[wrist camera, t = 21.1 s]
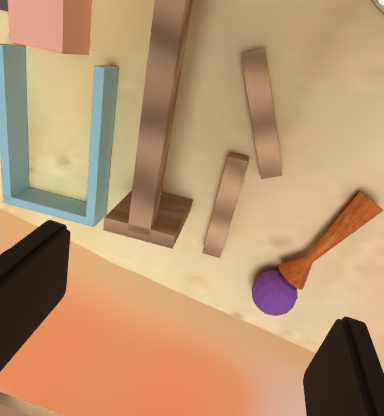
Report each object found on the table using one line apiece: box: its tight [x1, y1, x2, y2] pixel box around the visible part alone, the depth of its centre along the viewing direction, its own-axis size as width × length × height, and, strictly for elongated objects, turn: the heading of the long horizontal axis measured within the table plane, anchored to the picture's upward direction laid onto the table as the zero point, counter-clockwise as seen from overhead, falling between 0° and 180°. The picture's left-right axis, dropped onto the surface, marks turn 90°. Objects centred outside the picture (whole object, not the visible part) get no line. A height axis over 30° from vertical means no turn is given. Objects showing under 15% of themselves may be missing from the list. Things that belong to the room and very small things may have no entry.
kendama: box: [252, 191, 383, 316], centre depth 42 cm, size 6×6×20 cm
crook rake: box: [103, 0, 193, 248], centre depth 35 cm, size 28×8×10 cm, turn 169°
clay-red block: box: [8, 0, 92, 55], centre depth 36 cm, size 6×6×6 cm
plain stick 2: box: [241, 48, 282, 179], centre depth 38 cm, size 14×2×2 cm, turn 13°
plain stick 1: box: [202, 152, 249, 258], centre depth 43 cm, size 14×2×2 cm, turn 168°
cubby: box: [0, 44, 119, 227], centre depth 43 cm, size 20×13×4 cm, turn 169°
